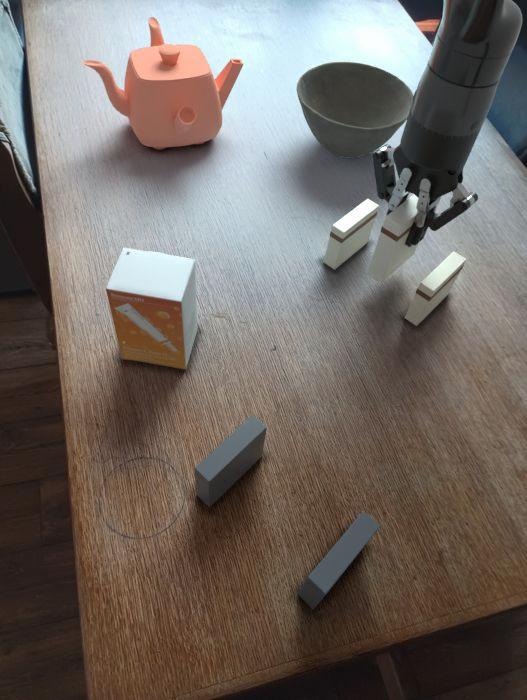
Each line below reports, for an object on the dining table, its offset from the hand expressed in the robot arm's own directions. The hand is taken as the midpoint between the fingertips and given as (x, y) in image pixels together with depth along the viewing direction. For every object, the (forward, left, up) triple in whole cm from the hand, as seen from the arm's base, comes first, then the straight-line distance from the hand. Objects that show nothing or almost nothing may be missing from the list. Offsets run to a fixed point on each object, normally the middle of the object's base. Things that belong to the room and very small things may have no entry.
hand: (401, 236), depth 70 cm
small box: (+13, +30, -8) cm, 34 cm away
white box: (0, 0, -5) cm, 5 cm away
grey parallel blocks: (-12, +36, -8) cm, 39 cm away
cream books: (0, 0, -8) cm, 8 cm away
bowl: (+23, -20, -8) cm, 31 cm away
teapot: (+46, -1, -8) cm, 47 cm away
